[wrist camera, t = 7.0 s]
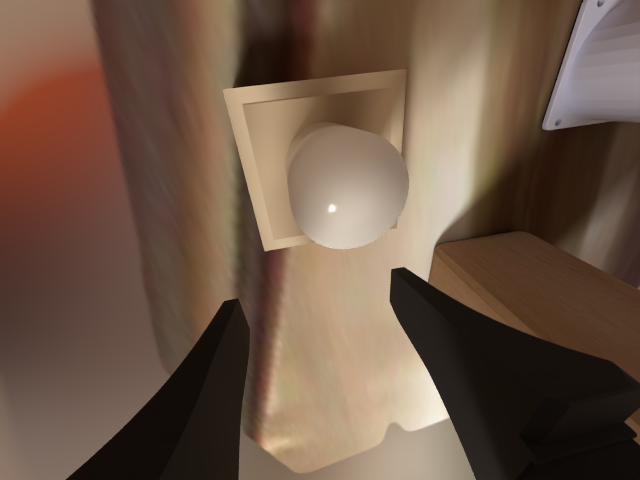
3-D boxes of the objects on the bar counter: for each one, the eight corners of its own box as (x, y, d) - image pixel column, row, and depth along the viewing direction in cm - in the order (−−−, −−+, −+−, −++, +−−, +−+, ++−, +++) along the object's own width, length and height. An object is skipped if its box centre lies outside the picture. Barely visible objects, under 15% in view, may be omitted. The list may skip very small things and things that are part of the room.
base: (385, 73, 16) (407, 68, 13) (381, 212, 21) (396, 228, 18) (231, 91, 15) (222, 89, 13) (265, 232, 20) (264, 251, 18)
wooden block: (524, 225, 25) (1102, 513, 7) (496, 298, 30) (802, 571, 12) (431, 240, 24) (850, 614, 6) (418, 314, 29) (634, 632, 11)
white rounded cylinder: (368, 123, 14) (420, 131, 9) (359, 203, 17) (396, 246, 12) (283, 120, 14) (287, 128, 8) (286, 205, 16) (291, 252, 11)
